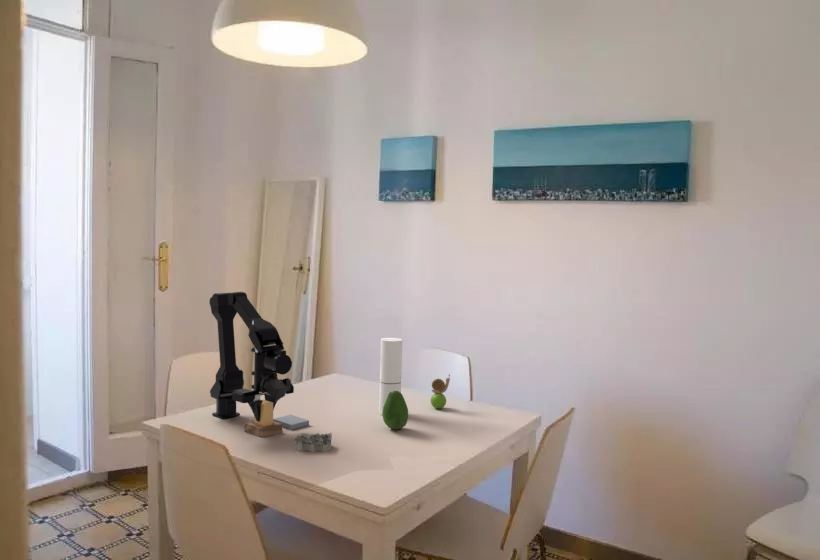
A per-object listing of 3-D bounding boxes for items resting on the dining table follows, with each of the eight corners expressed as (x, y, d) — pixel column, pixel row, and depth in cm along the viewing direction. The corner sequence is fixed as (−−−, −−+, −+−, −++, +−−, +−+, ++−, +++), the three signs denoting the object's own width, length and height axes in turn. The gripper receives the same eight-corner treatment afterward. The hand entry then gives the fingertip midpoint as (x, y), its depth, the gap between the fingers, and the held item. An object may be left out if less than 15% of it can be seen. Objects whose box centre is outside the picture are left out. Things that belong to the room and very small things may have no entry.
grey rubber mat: (272, 423, 208) (272, 418, 208) (290, 419, 213) (290, 414, 213) (291, 429, 202) (291, 425, 202) (308, 425, 208) (309, 420, 208)
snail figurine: (449, 410, 229) (450, 376, 228) (430, 410, 229) (431, 375, 228) (448, 406, 234) (449, 372, 233) (430, 406, 234) (431, 372, 233)
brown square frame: (244, 431, 200) (244, 422, 200) (264, 425, 205) (264, 417, 205) (261, 437, 194) (262, 429, 194) (282, 431, 200) (282, 423, 200)
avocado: (391, 424, 211) (392, 386, 211) (412, 428, 207) (413, 390, 207) (377, 430, 205) (378, 391, 204) (398, 434, 201) (400, 395, 200)
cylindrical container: (401, 410, 227) (403, 338, 225) (398, 416, 220) (401, 341, 218) (380, 409, 227) (382, 337, 225) (377, 415, 220) (379, 340, 218)
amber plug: (254, 431, 200) (254, 401, 199) (263, 428, 203) (263, 399, 202) (263, 434, 197) (263, 404, 196) (272, 432, 200) (273, 402, 199)
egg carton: (292, 452, 183) (292, 438, 183) (296, 443, 191) (296, 430, 190) (330, 453, 184) (330, 438, 183) (333, 444, 191) (333, 430, 190)
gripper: (254, 377, 186) (254, 432, 187) (306, 368, 200) (305, 419, 202) (231, 371, 193) (230, 424, 194) (282, 362, 207) (281, 412, 209)
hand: (263, 420), depth 200 cm, fingers closed on amber plug, 3 cm apart
